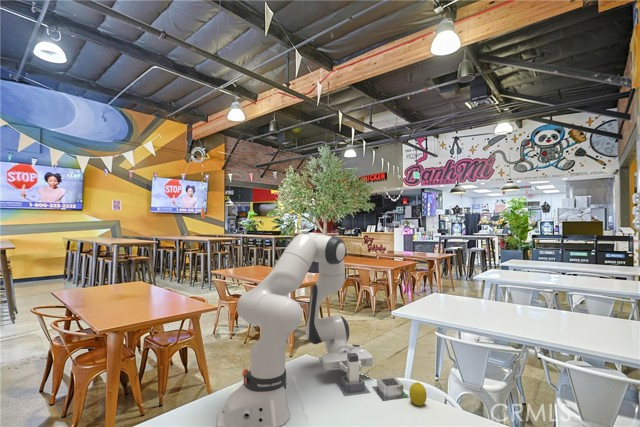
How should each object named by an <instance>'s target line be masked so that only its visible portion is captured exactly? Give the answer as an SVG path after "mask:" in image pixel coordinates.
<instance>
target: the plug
mask: <svg viewBox="0 0 640 427" xmlns="http://www.w3.org/2000/svg"><path fill="white" fill-rule="evenodd" d="M347 365H348V367H349V372H346V375H347V382H348V383H356V382H359V375H360V371H359V361H358V355H357V354H356V353H347Z"/></svg>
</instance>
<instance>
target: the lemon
mask: <svg viewBox="0 0 640 427" xmlns="http://www.w3.org/2000/svg"><path fill="white" fill-rule="evenodd" d="M409 388H410V389H409V393H408V395H409V398H410V401H411V403H413V404H414V405H415V406H418V407H421V406H423V405H424V404H425V403H426V401H427V390H426V387H425V386H424V385H423V384H422V383H421V382H418V381H416V382H413V383H412V384H411V385H410V387H409Z"/></svg>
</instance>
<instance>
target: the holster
mask: <svg viewBox="0 0 640 427" xmlns="http://www.w3.org/2000/svg"><path fill="white" fill-rule="evenodd" d="M336 385H337V387H338V388H339V390H340V391H341V393H342V396H343V397H350V396H356V395H357V396H358V395H359V396H360V395H365V394H366V395H367V394H371V391H370V390H369V389H368V387H367V385H366V384H365V381H364V379H363V378H362V376H361V375H360V374H359V382H356V383H348V382H347V374H345V375H343V376H341V381H339V382H336Z"/></svg>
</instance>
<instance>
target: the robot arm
mask: <svg viewBox="0 0 640 427" xmlns="http://www.w3.org/2000/svg"><path fill="white" fill-rule="evenodd" d="M346 253H347V247H346V244H345V241H344V240H343V239H342V238H340V237H337V236H331V235H327V234H321V233H309V232H303V233H300V234H297V235H296V236H294V238H292V240H291V241H290V243H288V245H286V248H285V249H284V251H283V252H282V254H281V256H280V257H279V259H278V260H277V262H276V263H275V265H274V267H273V268H272V270H271V271H270V272H269V273H268V274H267V275H266V277H265V278H264V279H263V280H261V281H260V282H259V283H258V284H257V285H256V286H254V287H253V288H252V289H250V290H247V291H246V292H244V293H243V294H242V295H240V297H239V298H238V300H237V303H236V313H237V315H238V316H239V317H240V319H242V320H244V321H245V322H246V323H247V324H250V325H254V326H256V327H259V328H260V335H259V338H258V340H256V341H255V342H254V343H253V344H252V346H251V347H250V370H248V368H245V369H243V370H242V374H241V375H242V377H243V384H242V385H240V386H239V387H238V388H237V389H235V390H234V391H233V392H231V394H229V397H228V398H227V401H226V403H225V406H224V407H223V408H222V409H221V411H219V414H218V415H217V416H218V417H217V420H216V421H217V422H216V427H281V426H283V425H284V424H285V423H287V422H288V420H289V418H290V417H291V412H290V408H289V405H288V399H287V392H286V389H287V380H288V377H287V376H288V375H287V374H288V373H287V368H286V350H287V348H286V347H287V343H288V339H289V337H290V336H291V334H292V333H294V331H296V330H297V329H298V327H299V326H300V324H301V322H302V319H303V310H302V307H301V305H300V303H299V302H298V301H296V300H294V299H293V298H290V297H289V296H288V295H289V294H290V293H292V292H294V291H296V290H298V289H299V288H300V287H301V285H302V283H303V282H304V279H305V278H306V276H307V274H308V272H309V270H310V269H311V266H312V264H313V262H315V263H318V277H317V280H316V282H315V283H314V284H313V285H312V286H311V288H310V289H311V290H310V297H309V301H308V303H309V304H308V311H307V312H308V313H307V320H306V324H305V336H306V339H307V341H308V342H310V344H313V345H318V344H321V343H323V342H324V346H325V348H326V352H327V353H325V354H323V355H321V356H319V357H318V361H319V362H321V364H322V369H323V371H326V372H328V371H337V370H339V371H340V370H341V371H343V372H344V373H347V372H349V367H348V365H347V353H356V354H357V355H358V361H359V372H360V371H362V370H363V368H366V367H367V368H368V367H373V365H374V356H373V354H371V353H370V351H369V350H367V349H365V348H364V347H363V345H362V344H361V345H360V344H352V343H348V341H349V339H350V327H349V323H348V321H347V320H346V318H345V317H344V316H342V315H340V314H338V315H337V314H336V315H330V316H328V317H321V318H319V315H320V308H321V304H322V302H323V301H324V300H326V298H329V297H330V296H332V295H333V294H336V293H337V292H339V291H340V290H341V289H342V287H343V286H344V285H345V280H346V270H345V269H346V267H345V261H344V258H345V257H346Z"/></svg>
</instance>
